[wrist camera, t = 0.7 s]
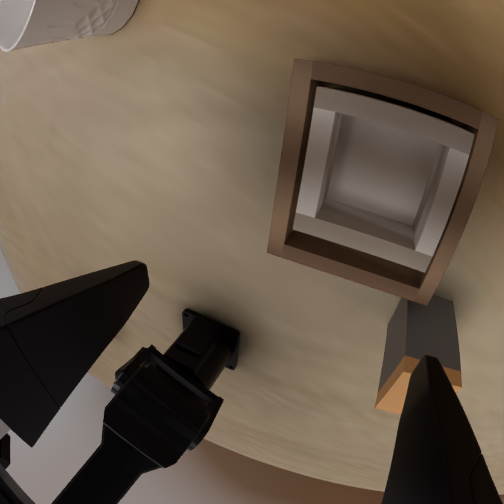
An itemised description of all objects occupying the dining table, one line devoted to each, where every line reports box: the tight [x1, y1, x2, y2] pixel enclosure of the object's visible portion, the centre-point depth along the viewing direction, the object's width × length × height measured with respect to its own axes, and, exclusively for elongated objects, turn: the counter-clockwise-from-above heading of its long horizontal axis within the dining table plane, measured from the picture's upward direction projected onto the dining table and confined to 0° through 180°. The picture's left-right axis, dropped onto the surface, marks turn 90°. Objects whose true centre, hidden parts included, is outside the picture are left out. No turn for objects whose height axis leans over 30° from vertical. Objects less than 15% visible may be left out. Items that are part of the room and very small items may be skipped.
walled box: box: [267, 59, 499, 306], centre depth 15 cm, size 12×11×5 cm
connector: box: [375, 295, 462, 415], centre depth 17 cm, size 4×4×8 cm
